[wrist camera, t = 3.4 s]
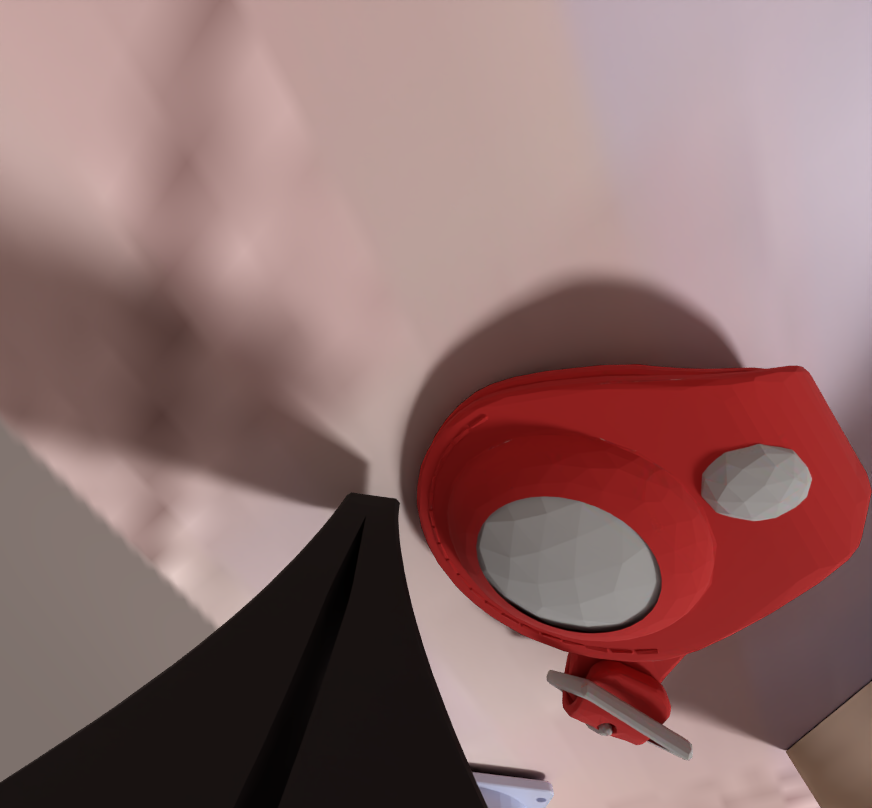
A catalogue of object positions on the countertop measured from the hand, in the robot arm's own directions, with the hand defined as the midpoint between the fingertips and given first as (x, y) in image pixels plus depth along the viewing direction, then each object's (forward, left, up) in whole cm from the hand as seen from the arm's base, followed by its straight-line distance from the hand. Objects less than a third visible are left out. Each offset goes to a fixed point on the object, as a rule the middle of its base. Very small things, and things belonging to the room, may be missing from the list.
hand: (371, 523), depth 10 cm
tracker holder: (0, -6, -1) cm, 6 cm away
